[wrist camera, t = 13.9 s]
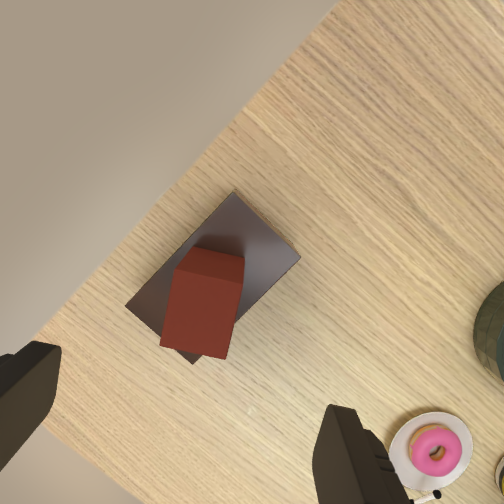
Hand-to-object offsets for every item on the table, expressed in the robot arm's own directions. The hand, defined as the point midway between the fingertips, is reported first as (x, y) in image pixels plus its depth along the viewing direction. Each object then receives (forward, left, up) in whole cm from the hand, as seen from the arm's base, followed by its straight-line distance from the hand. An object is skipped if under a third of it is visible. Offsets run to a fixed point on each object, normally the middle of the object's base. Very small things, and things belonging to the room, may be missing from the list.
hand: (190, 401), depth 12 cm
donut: (+16, +22, -23) cm, 35 cm away
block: (+2, -1, -23) cm, 23 cm away
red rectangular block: (+2, -1, -18) cm, 18 cm away
